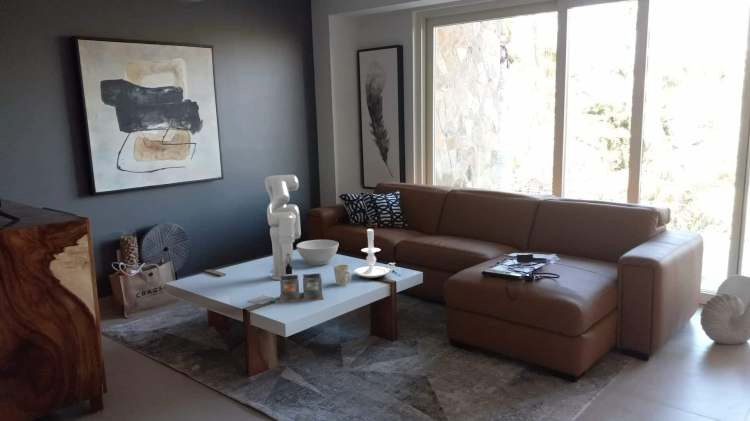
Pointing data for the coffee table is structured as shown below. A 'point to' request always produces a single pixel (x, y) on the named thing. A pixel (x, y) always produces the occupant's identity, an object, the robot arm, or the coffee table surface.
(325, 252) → the decorative bowl
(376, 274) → the candlestick
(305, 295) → the dark grey boxy container
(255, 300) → the mat
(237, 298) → the coffee table surface
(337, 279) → the mug
